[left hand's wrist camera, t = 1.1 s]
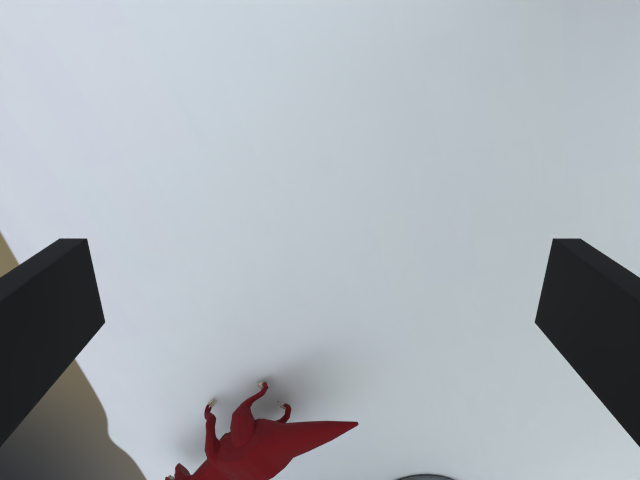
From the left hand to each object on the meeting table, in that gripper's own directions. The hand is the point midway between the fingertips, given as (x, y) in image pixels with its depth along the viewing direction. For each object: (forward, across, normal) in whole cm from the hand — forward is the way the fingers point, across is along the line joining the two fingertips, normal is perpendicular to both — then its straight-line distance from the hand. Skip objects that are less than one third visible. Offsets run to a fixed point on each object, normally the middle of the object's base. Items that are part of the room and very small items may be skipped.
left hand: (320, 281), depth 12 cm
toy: (+28, +7, +30) cm, 42 cm away
